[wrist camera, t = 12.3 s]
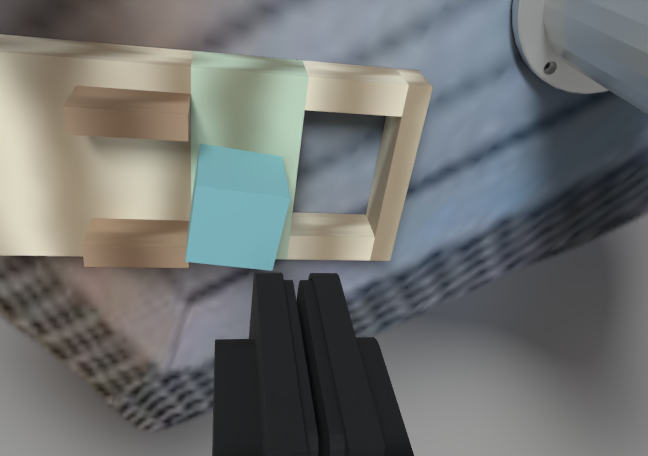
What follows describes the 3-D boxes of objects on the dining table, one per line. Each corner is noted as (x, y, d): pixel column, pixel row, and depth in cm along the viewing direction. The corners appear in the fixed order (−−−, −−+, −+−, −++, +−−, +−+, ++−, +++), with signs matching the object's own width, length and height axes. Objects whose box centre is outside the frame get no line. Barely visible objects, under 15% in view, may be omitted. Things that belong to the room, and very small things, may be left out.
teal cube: (282, 156, 34) (290, 198, 30) (266, 223, 36) (272, 270, 32) (199, 143, 32) (196, 185, 28) (189, 213, 35) (185, 261, 31)
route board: (418, 70, 35) (449, 106, 30) (380, 236, 42) (400, 287, 37) (-54, 29, 30) (-108, 64, 25) (-6, 228, 37) (-42, 285, 32)
